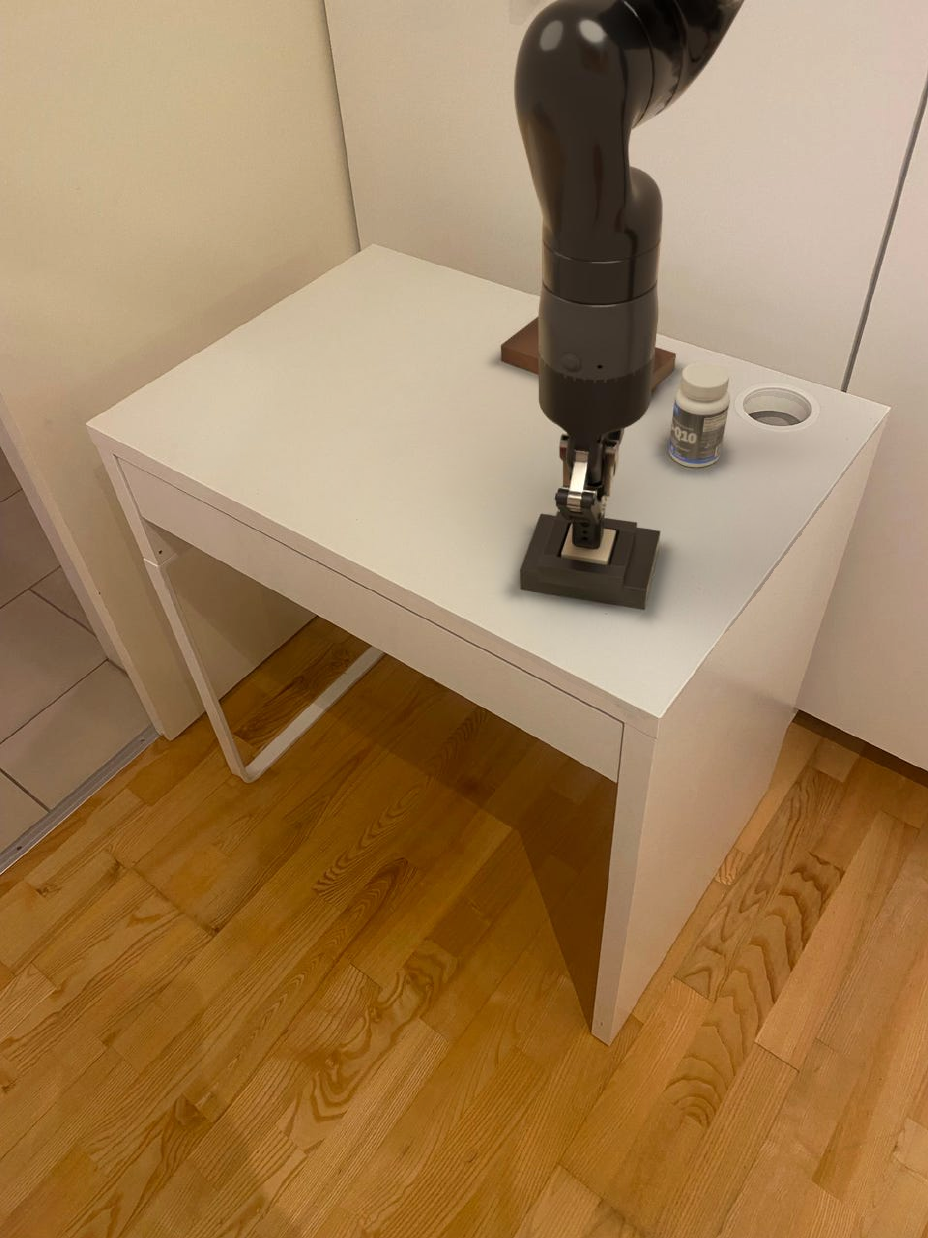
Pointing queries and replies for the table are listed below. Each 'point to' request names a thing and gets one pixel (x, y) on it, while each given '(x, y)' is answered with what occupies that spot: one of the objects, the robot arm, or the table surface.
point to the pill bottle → (699, 415)
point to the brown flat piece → (525, 355)
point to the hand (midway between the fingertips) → (587, 541)
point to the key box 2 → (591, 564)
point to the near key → (591, 555)
